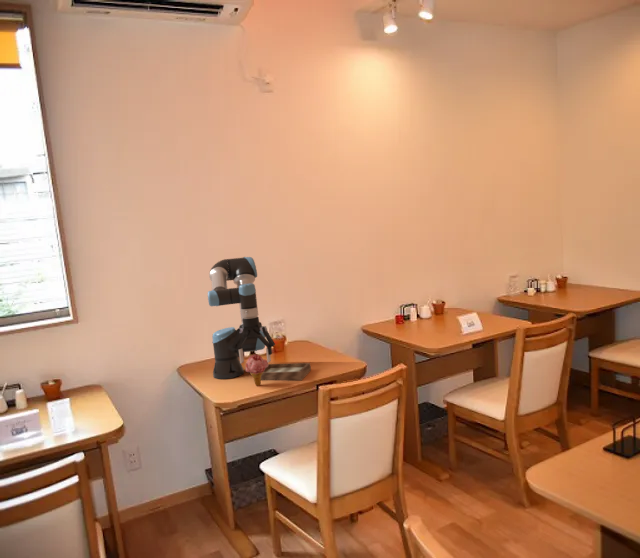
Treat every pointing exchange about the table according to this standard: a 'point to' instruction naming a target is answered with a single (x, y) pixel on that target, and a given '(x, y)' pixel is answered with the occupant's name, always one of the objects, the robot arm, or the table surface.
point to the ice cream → (256, 367)
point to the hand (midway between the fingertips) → (255, 362)
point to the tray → (286, 371)
